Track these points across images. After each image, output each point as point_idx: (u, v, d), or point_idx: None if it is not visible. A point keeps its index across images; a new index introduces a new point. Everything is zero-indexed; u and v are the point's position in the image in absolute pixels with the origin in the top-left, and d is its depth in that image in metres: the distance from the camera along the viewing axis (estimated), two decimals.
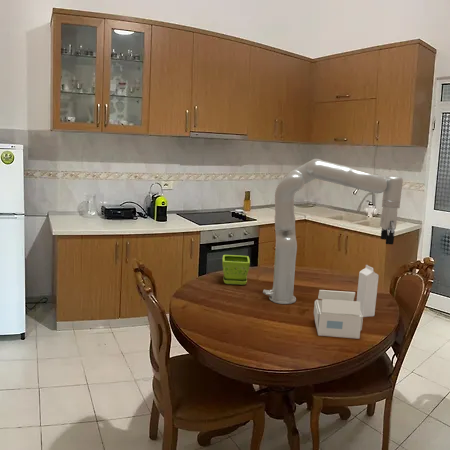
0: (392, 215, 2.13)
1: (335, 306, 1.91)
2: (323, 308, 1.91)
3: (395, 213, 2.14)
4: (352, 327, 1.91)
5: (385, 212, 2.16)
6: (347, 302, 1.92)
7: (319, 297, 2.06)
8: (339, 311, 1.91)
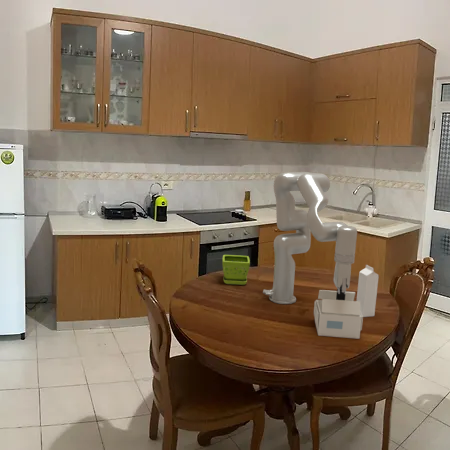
0: (345, 272, 1.86)
1: (335, 306, 1.91)
2: (323, 308, 1.91)
3: (348, 269, 1.86)
4: (352, 327, 1.91)
5: (337, 268, 1.88)
6: (347, 302, 1.91)
7: (319, 297, 2.06)
8: (339, 311, 1.91)
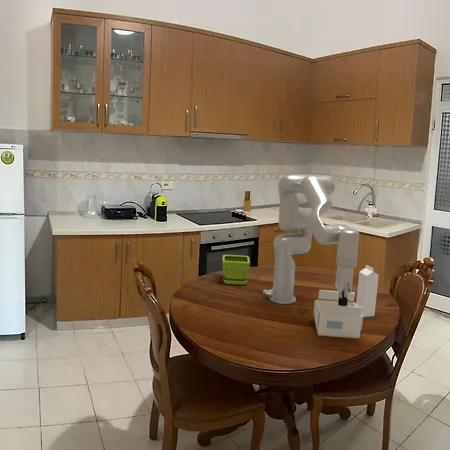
0: (347, 276, 1.81)
1: (336, 310, 1.88)
2: (323, 311, 1.90)
3: (350, 273, 1.81)
4: (352, 327, 1.91)
5: (339, 271, 1.83)
6: (349, 308, 1.87)
7: (319, 297, 2.06)
8: (339, 314, 1.89)
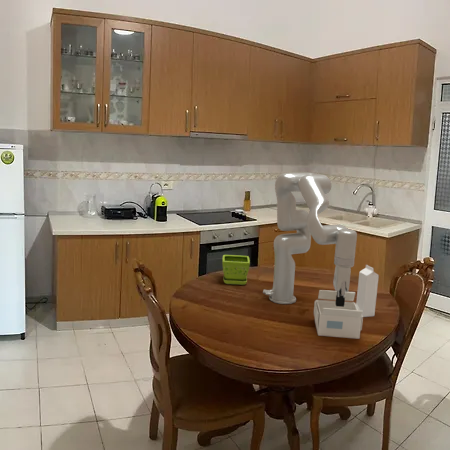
0: (344, 275, 1.86)
1: (336, 312, 1.88)
2: (323, 313, 1.89)
3: (348, 273, 1.86)
4: (352, 327, 1.91)
5: (337, 271, 1.88)
6: (349, 311, 1.86)
7: (319, 297, 2.06)
8: (339, 315, 1.89)
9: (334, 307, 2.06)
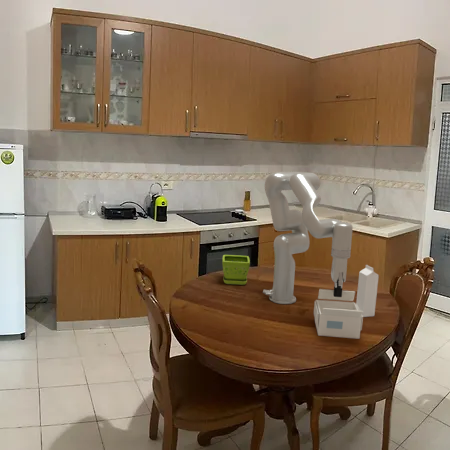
0: (341, 266, 1.94)
1: (336, 312, 1.88)
2: (323, 313, 1.89)
3: (344, 264, 1.94)
4: (352, 327, 1.91)
5: (334, 262, 1.96)
6: (349, 311, 1.86)
7: (319, 297, 2.06)
8: (339, 315, 1.89)
9: (334, 307, 2.06)
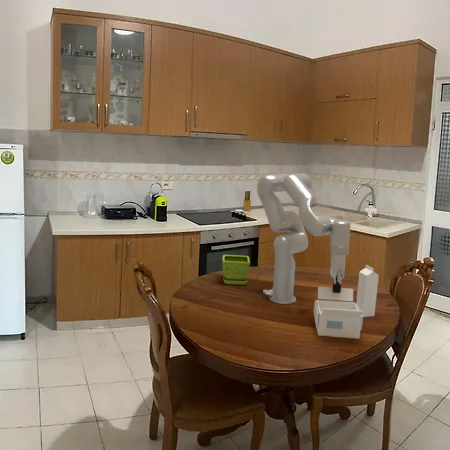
0: (339, 262, 1.99)
1: (336, 312, 1.88)
2: (323, 313, 1.89)
3: (343, 260, 1.99)
4: (352, 327, 1.91)
5: (333, 259, 2.01)
6: (349, 311, 1.86)
7: (319, 296, 2.07)
8: (339, 315, 1.89)
9: (334, 307, 2.06)
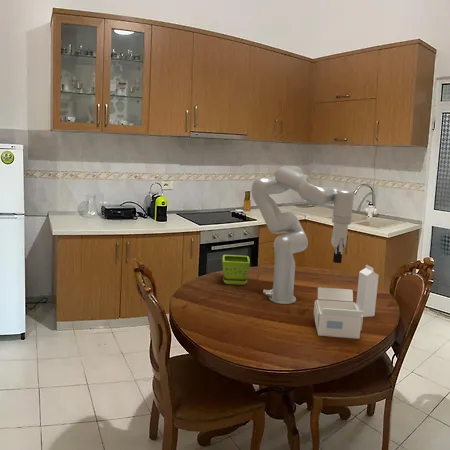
0: (342, 232, 1.98)
1: (336, 312, 1.88)
2: (323, 313, 1.89)
3: (345, 230, 1.98)
4: (352, 327, 1.91)
5: (335, 228, 2.00)
6: (349, 311, 1.86)
7: (319, 297, 2.07)
8: (339, 315, 1.89)
9: (334, 307, 2.06)
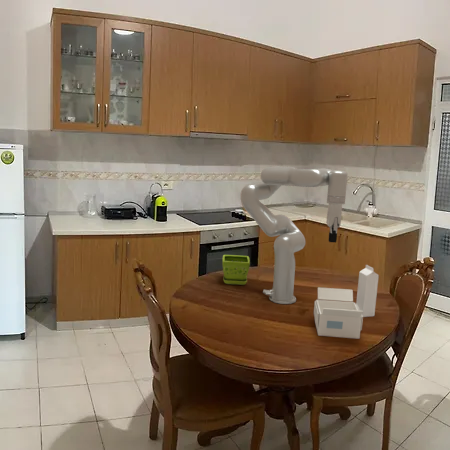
0: (336, 211, 2.04)
1: (336, 312, 1.88)
2: (323, 313, 1.89)
3: (339, 209, 2.04)
4: (352, 327, 1.91)
5: (329, 208, 2.06)
6: (349, 311, 1.86)
7: (319, 297, 2.07)
8: (339, 315, 1.89)
9: (334, 307, 2.06)
